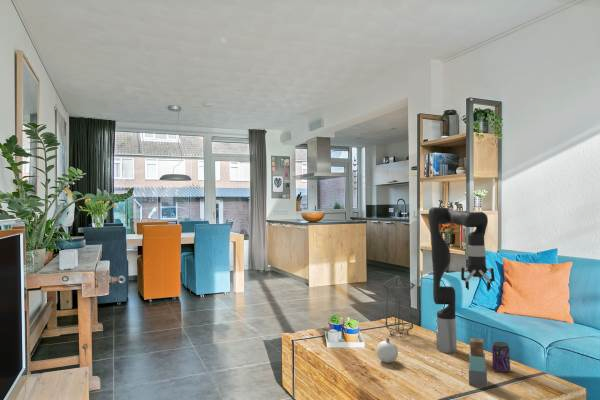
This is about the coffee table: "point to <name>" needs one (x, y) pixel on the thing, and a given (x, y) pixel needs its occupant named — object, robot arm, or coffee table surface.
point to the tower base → (478, 378)
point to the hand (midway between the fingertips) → (478, 290)
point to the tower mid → (477, 363)
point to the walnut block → (476, 347)
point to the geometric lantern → (399, 303)
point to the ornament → (387, 351)
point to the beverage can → (501, 357)
